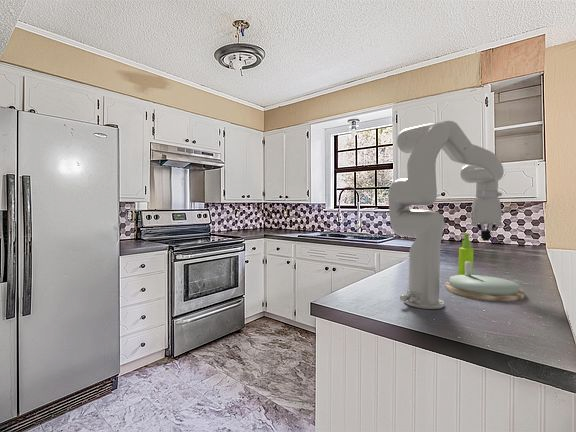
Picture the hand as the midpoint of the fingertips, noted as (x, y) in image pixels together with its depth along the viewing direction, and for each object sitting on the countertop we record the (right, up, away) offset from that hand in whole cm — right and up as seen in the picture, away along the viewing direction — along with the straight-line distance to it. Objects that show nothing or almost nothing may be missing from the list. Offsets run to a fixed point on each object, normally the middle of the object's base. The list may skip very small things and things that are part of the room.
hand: (485, 240), depth 132 cm
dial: (-6, -17, -8) cm, 20 cm away
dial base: (-6, -19, -8) cm, 21 cm away
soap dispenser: (+1, -18, +18) cm, 25 cm away
